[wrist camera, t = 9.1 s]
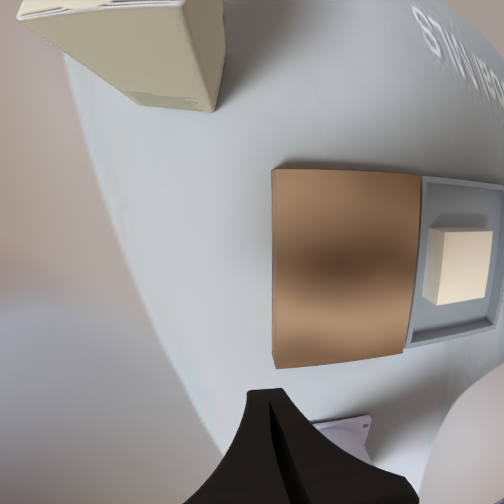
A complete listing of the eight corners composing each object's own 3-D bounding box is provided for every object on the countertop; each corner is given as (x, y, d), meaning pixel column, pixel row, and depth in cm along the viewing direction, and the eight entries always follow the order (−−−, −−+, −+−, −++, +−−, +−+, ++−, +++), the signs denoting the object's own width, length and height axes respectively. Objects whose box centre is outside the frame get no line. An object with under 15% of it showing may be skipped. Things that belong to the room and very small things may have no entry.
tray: (485, 322, 23) (495, 328, 21) (396, 339, 22) (405, 348, 21) (502, 185, 20) (514, 187, 19) (410, 175, 19) (422, 175, 18)
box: (227, 51, 17) (233, -99, 4) (214, 116, 18) (193, 7, 5) (145, 44, 16) (66, -84, 4) (129, 107, 17) (7, 22, 5)
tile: (469, 289, 21) (484, 297, 20) (421, 296, 21) (436, 305, 19) (476, 227, 20) (492, 231, 18) (428, 227, 20) (444, 232, 18)
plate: (390, 340, 22) (402, 353, 20) (271, 353, 21) (275, 369, 19) (404, 174, 19) (420, 175, 17) (271, 170, 19) (276, 169, 17)
